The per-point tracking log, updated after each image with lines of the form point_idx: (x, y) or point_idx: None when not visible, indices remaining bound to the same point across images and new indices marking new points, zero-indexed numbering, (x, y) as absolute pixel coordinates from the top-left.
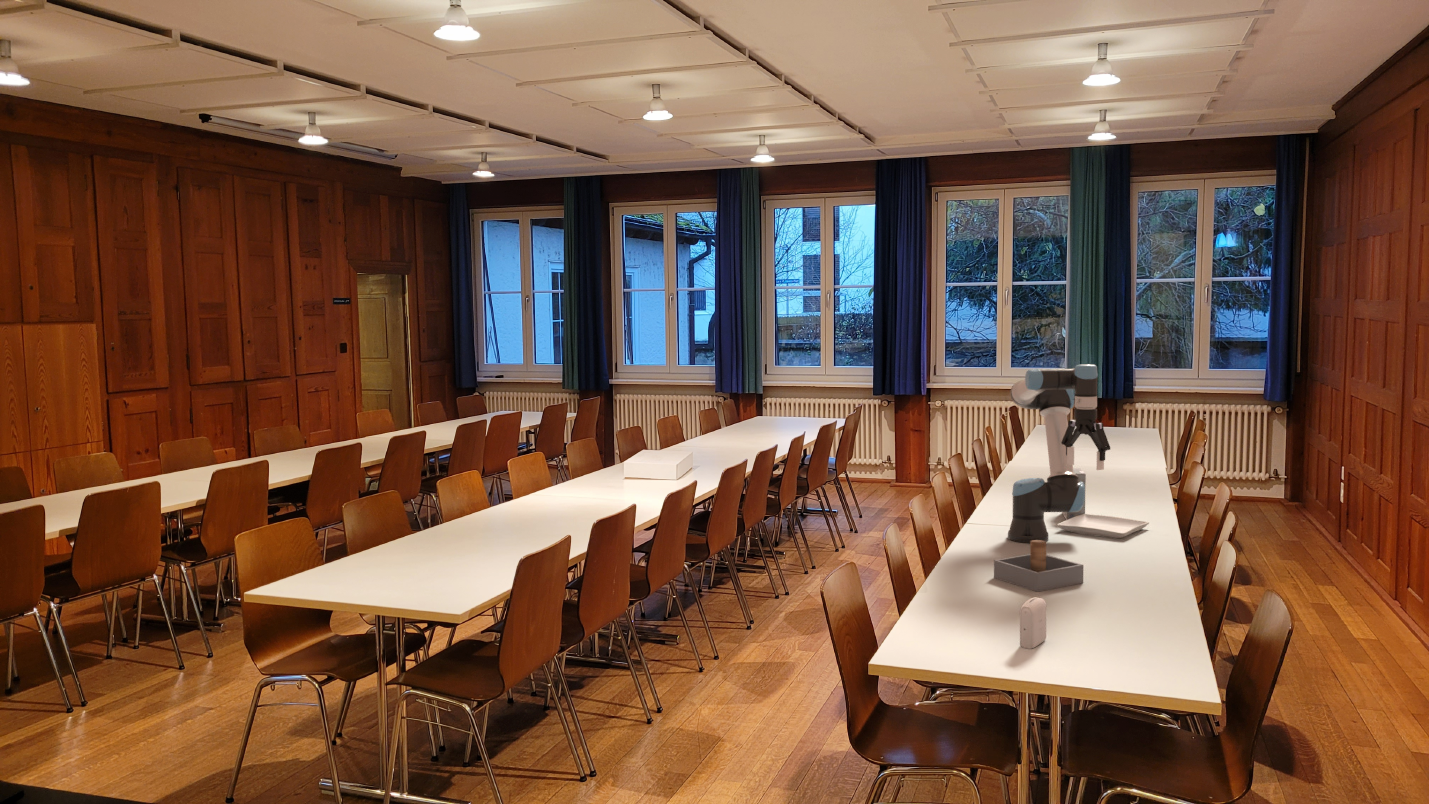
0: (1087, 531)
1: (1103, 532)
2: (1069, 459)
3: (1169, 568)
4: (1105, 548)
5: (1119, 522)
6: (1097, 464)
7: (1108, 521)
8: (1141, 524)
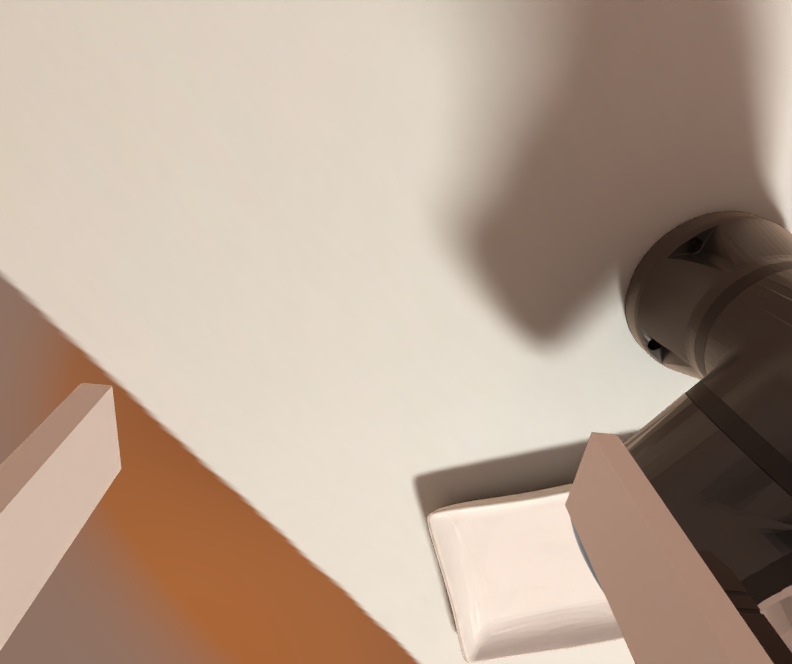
0: (559, 486)
1: (501, 498)
2: (618, 496)
3: (65, 300)
4: (404, 377)
5: (548, 630)
6: (54, 432)
7: (582, 622)
8: (459, 627)
